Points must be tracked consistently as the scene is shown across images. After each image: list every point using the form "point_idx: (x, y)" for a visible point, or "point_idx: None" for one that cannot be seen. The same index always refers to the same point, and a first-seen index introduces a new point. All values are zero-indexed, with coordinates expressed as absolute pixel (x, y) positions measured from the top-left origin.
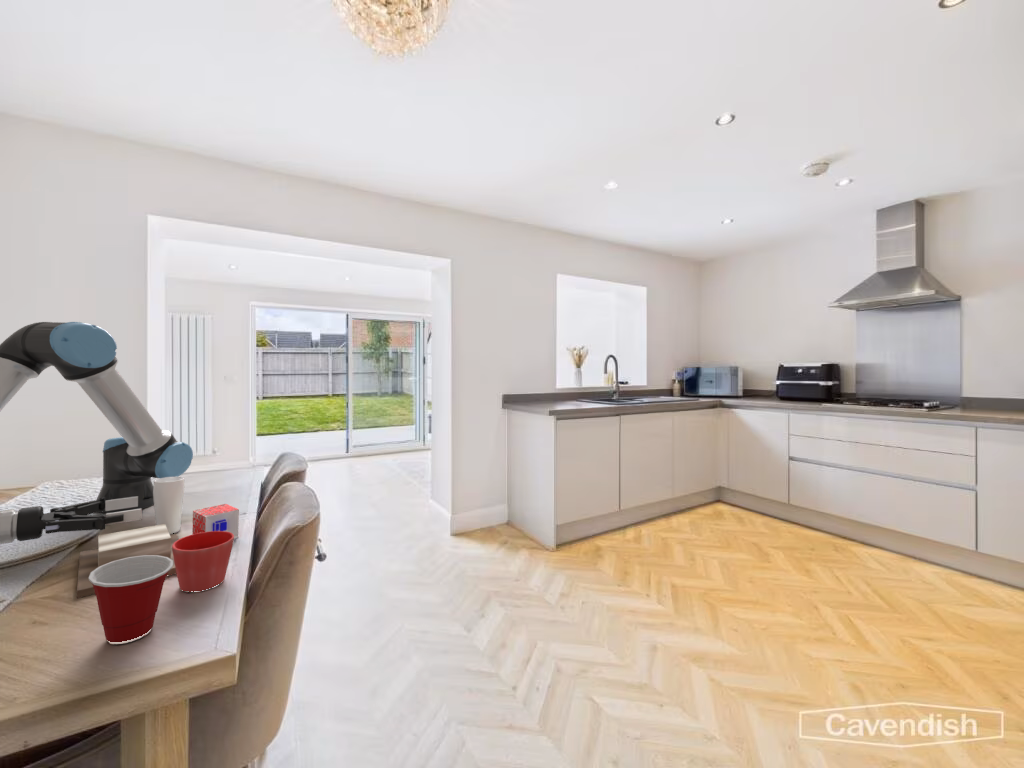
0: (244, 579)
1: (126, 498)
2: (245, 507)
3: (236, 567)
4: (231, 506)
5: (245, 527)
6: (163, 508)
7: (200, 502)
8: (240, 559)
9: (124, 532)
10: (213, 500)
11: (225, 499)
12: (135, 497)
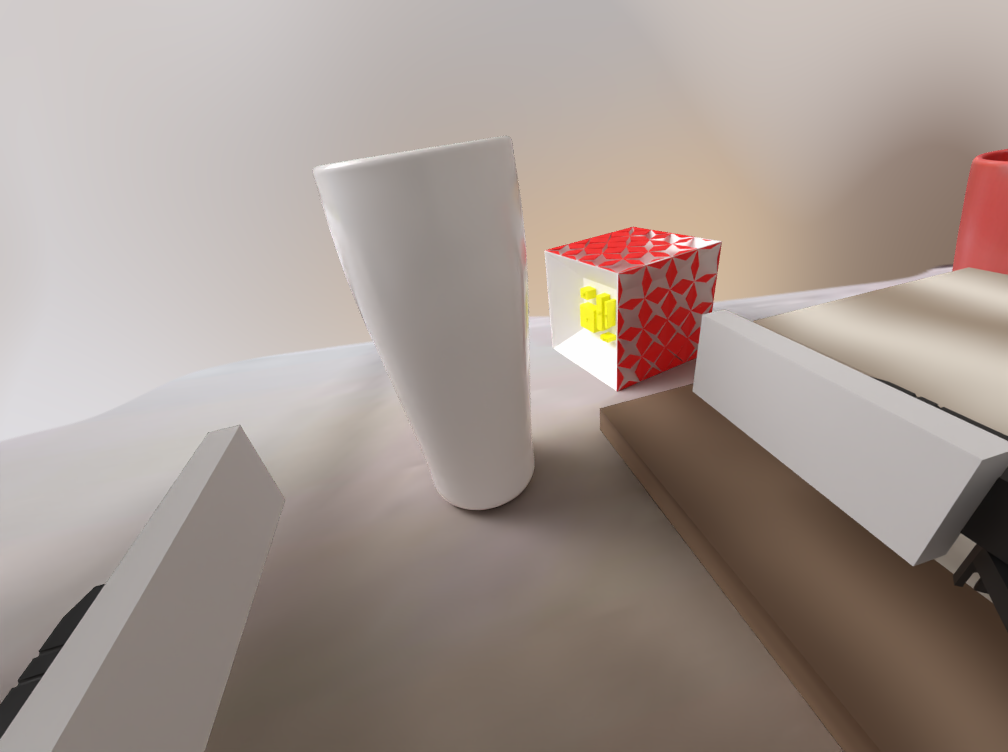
0: (946, 269)
1: (200, 494)
2: (322, 354)
3: (873, 287)
4: (589, 238)
5: (541, 324)
6: (528, 342)
7: (72, 468)
8: (813, 292)
9: (997, 404)
10: (105, 435)
11: (145, 408)
12: (234, 439)
